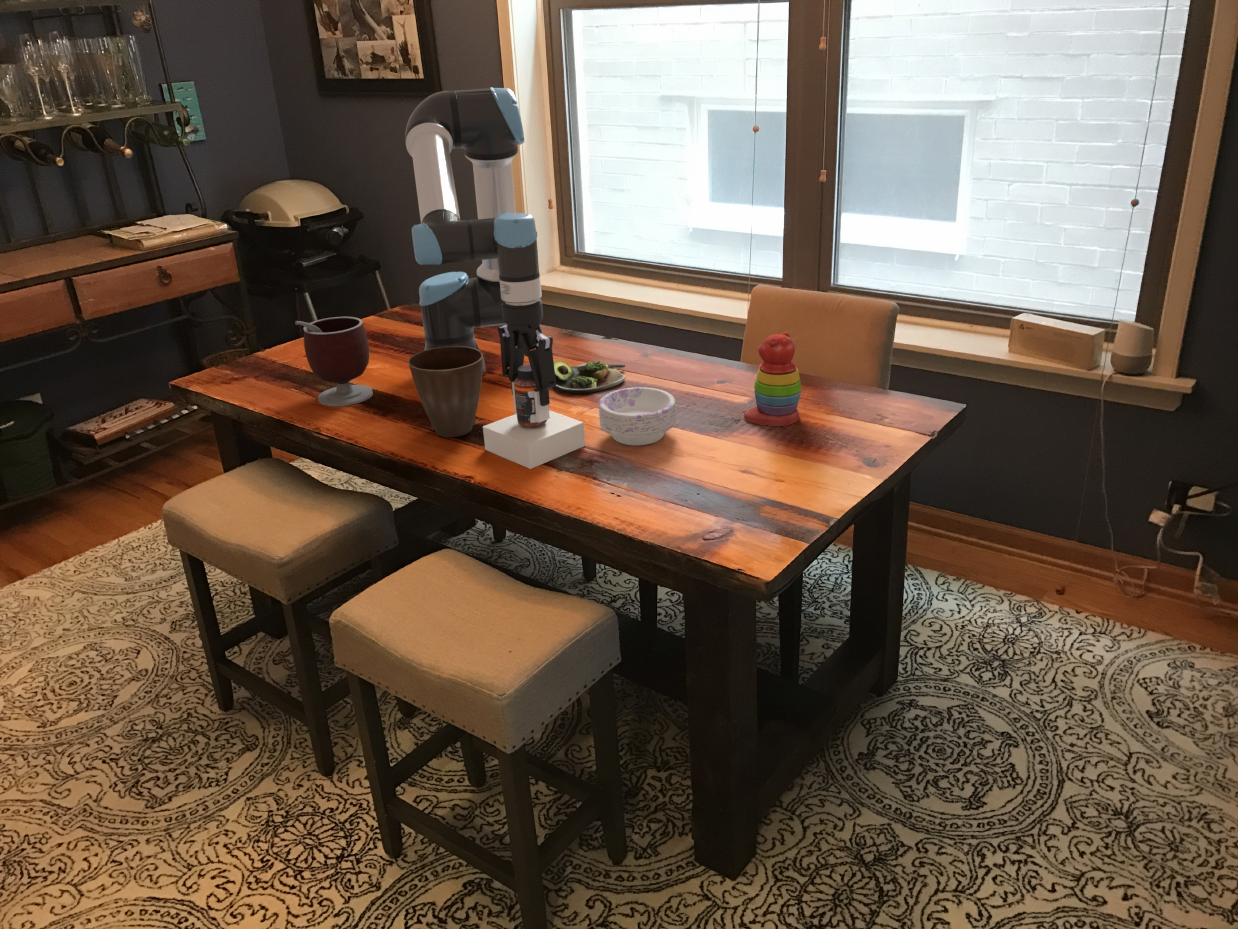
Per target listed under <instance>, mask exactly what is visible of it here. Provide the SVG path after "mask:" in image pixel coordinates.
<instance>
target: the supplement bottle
mask: <svg viewBox="0 0 1238 929" xmlns="http://www.w3.org/2000/svg"><path fill="white" fill-rule="evenodd" d="M518 375H519V377H517V378H516V379H515V381H514V390H515V401H516V412H517V421H518V423H519V424H520V425H521V426H525V427H537V426H540V425H543V424H544V423H546V422H547V420H545V421H542V422H540V423H539V422H537V420H536V409H535V398H534V389H536V384H535V381H534V377H533V374H532V370H531V366H530V364H523V366H520V367H519V368H518ZM541 383H542V382H541Z"/></svg>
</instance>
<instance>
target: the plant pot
mask: <svg viewBox="0 0 1238 929" xmlns="http://www.w3.org/2000/svg"><path fill="white" fill-rule="evenodd" d="M483 358H484V354H483V352H482V351H481V349H480V350H478V349H475V348H471V347H464V346H447V347H438V348H432V349H428V350H425V349H423V350H422V351H420V352H417V353H415V354H413V355H412V356H411V357H409V359H408V360H407V362H408V363H407V364H408V367H409V370H410V373H411V377H412V381H413V383H414V386H415V389H416V393H417V395H418V398H419V401H420V403H421V405H422V408H423V410H424V411H425V414H426V416H427V418H428V420H429V422H430V423H431V426H432V428H433V430H434V431H435V432H436V434H437V435H438V436H440V437H444V438H455V437H462V436H466V435H467V434H469V433H470V432H471V431H472V430H473V426H474V422H475V419H476V416H477V411H478V406H479V401H480V397H481V396H480V395H481V388H482V381H483V380H482V379H483V372H482V369H483Z"/></svg>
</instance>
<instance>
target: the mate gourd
mask: <svg viewBox="0 0 1238 929" xmlns="http://www.w3.org/2000/svg"><path fill="white" fill-rule="evenodd" d="M294 322H295V325H297V326H303V347H304V352H305V356H306V360H307V362H308V365H309V367H310V369H311V371H312V373H313V374H314V375H316V377H318V378H319V379H320V380H321V381H324V382H329V383H335V384H337V385H336V386H334V387H331V388H328V389H326V390H323V392H320V393H319V394H318V396H317V400H318V403H319V404H320V405H322V406H327V407H347V406H351V405H356V404H359V403H362V402H365V401H368V400H369V399H370V398H372V396H373V395H374V394H373V393H374V392H373V388H372V387H370V386H367V385H365V384H364V385H363V384H351V381H352V380H355V379H357V378H358V377H360V376H362V375H363V374H364V372H365V371H366V369H367V367H368V365H369V363H370V362H369V361H370V346H369V340H368V334H367V332H366V328H365V326H364V323H363V320H362V319H361V318H358V317H354V316H335V317H328V318H322V319H318V320H315V321H311V322H305V321H301V320H299V321H298V320H295V321H294Z"/></svg>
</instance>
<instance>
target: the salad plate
mask: <svg viewBox="0 0 1238 929" xmlns="http://www.w3.org/2000/svg"><path fill="white" fill-rule="evenodd" d="M607 363H608V362H607V361H605V362H604V363H601V361H600V360H598V361H593V362H592V361H587V362H586V363H584V364H579V365H573V366H571V365H569V364H568V363H566V362H564V361H561V360H557V361H554V370H555V378H556V386H554V387H552V389H554V390H555V391H557V392H558V393H562V394H565V395H570V394H571V395H573V396H574V395H575V396H576V395H577V396H578V395H579V394H580V395H586V394H591V393H595V392H599V391H604V390H606V389H610V388H613V387H616V386H618V385H619V384H621V383H622V382H624V381H625V379H626V376H625V374H623V373H622V372H620V371H618V370H620V369H623V368H625V367H626V364H623V363H622V364H621V363H619V364H618V363H617V364H616V363H615V364H613V363H612V364H611V363H610V364H607ZM606 380H607V381H610V383H608V384H604V385H601V386H597V384H598V383H599V382H604V381H606Z"/></svg>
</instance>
